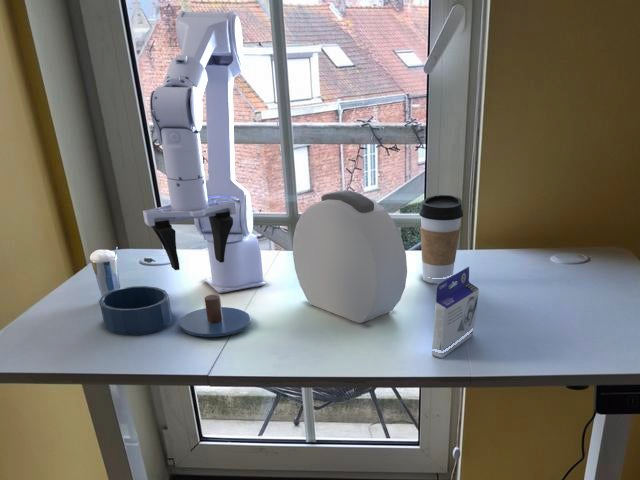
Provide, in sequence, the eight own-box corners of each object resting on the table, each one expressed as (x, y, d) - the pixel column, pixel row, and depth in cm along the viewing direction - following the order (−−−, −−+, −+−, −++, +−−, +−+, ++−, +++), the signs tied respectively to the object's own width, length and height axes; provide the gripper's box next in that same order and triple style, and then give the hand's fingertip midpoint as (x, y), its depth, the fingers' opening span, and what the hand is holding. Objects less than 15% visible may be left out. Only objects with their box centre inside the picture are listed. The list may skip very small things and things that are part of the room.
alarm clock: (406, 318, 130) (409, 200, 118) (377, 330, 126) (378, 209, 114) (323, 288, 142) (320, 178, 130) (294, 298, 137) (288, 185, 125)
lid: (194, 310, 132) (190, 282, 129) (259, 315, 130) (256, 287, 127) (169, 337, 122) (164, 308, 119) (239, 342, 121) (236, 312, 118)
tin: (145, 305, 133) (141, 281, 131) (185, 321, 128) (181, 296, 125) (92, 323, 126) (86, 298, 124) (131, 341, 121) (126, 315, 118)
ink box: (443, 360, 117) (448, 288, 110) (430, 356, 118) (434, 285, 111) (475, 335, 124) (481, 267, 118) (463, 332, 125) (468, 265, 118)
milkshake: (122, 306, 133) (110, 251, 127) (95, 304, 134) (82, 248, 128) (134, 298, 136) (123, 243, 130) (107, 295, 137) (95, 241, 131)
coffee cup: (465, 276, 148) (472, 198, 139) (445, 289, 142) (450, 208, 133) (429, 269, 151) (433, 192, 142) (408, 280, 146) (411, 201, 137)
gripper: (147, 187, 107) (162, 279, 115) (239, 176, 113) (248, 264, 121) (133, 177, 112) (149, 266, 120) (222, 167, 118) (232, 252, 126)
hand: (198, 264), depth 121 cm, fingers open, 7 cm apart
